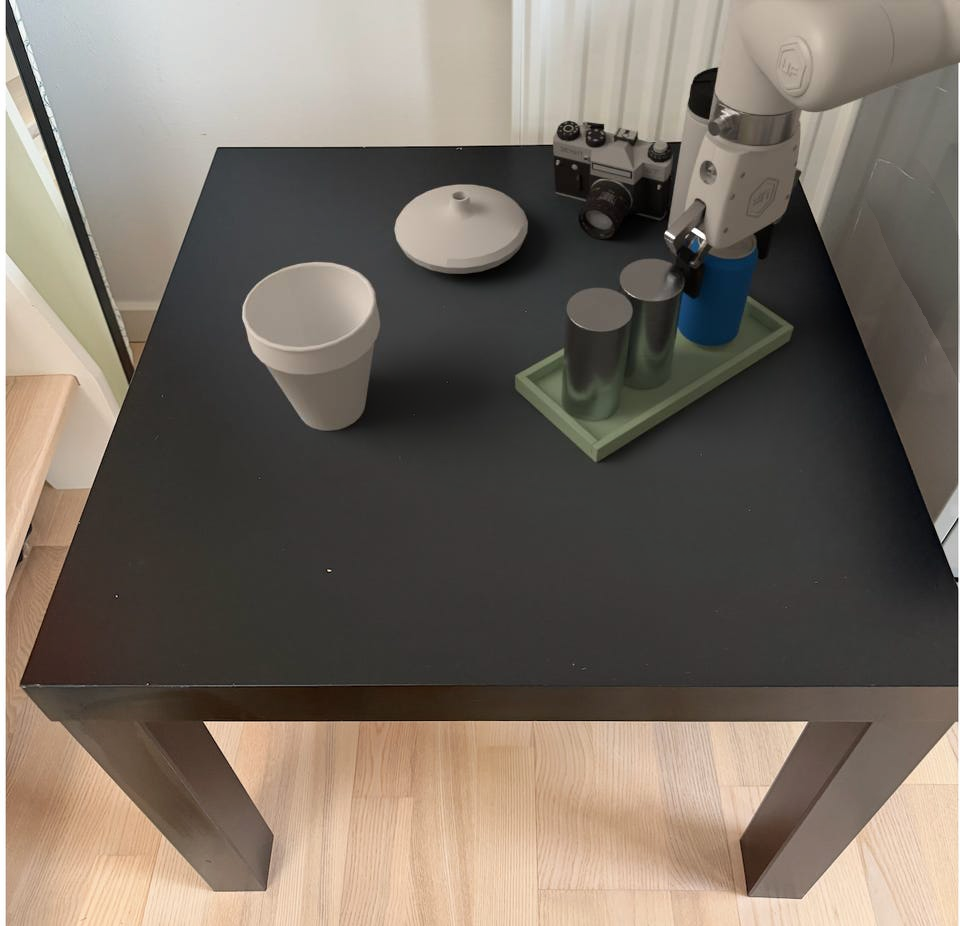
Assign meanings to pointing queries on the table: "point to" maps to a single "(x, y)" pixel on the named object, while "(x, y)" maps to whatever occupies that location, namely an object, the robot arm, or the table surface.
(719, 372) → the tray
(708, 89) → the travel mug
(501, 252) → the vase
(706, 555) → the table surface
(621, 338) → the can
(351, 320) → the white flower pot
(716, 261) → the beverage can
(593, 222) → the camera
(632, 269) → the can
